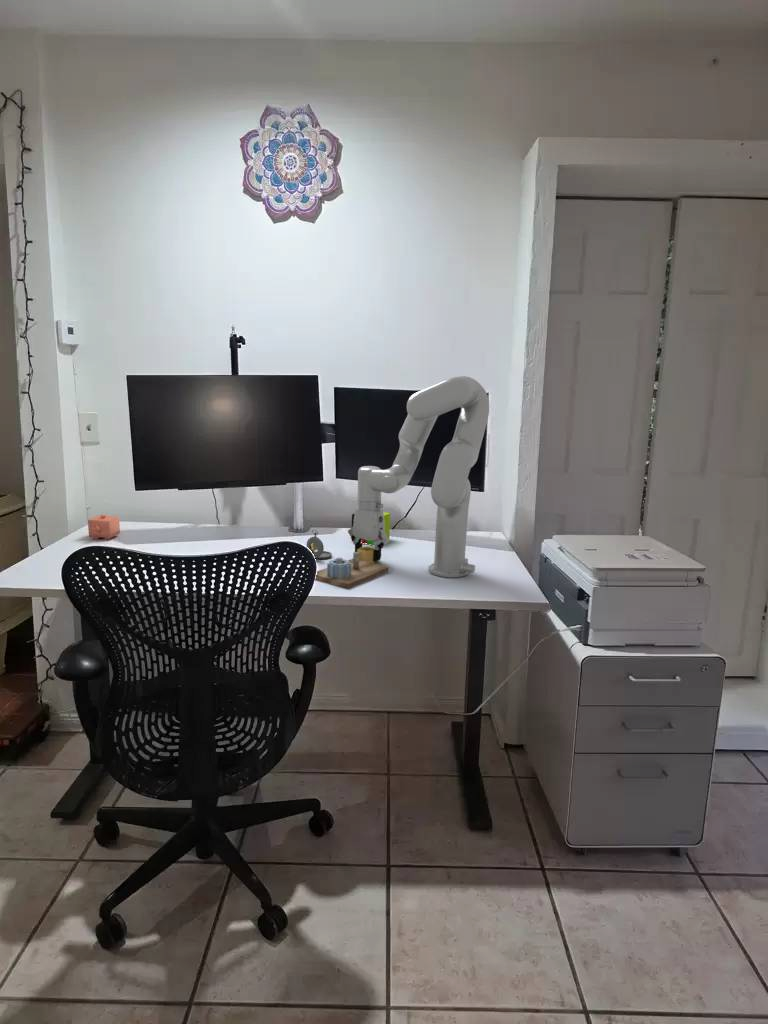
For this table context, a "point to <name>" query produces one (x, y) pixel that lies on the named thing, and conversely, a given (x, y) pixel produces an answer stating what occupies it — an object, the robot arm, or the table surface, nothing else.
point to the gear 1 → (339, 569)
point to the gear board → (354, 573)
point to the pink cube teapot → (103, 526)
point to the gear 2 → (366, 554)
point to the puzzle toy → (387, 527)
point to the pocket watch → (317, 547)
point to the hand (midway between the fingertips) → (367, 557)
